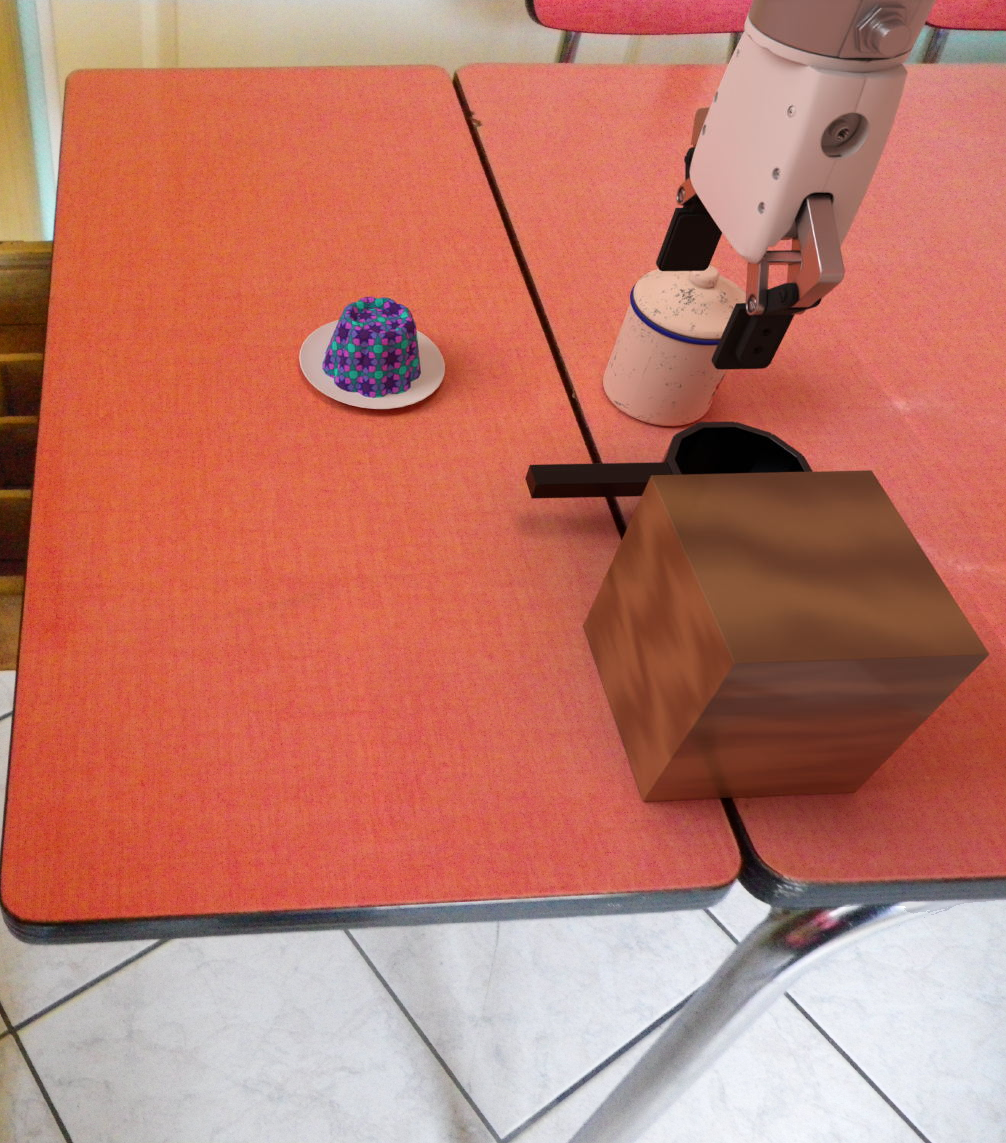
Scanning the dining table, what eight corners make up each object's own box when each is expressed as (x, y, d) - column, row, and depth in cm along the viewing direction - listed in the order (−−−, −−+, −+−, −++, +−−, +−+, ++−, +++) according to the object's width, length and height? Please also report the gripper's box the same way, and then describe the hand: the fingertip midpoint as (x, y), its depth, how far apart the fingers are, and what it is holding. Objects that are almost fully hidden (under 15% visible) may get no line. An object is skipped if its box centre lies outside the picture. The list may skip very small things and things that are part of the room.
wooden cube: (855, 792, 62) (990, 654, 52) (642, 801, 61) (734, 663, 51) (770, 619, 71) (871, 469, 60) (582, 625, 70) (650, 475, 59)
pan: (756, 469, 80) (783, 420, 76) (808, 569, 74) (841, 520, 70) (501, 474, 79) (516, 424, 75) (532, 575, 72) (550, 526, 69)
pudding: (407, 314, 92) (417, 262, 88) (468, 400, 84) (481, 347, 80) (278, 337, 89) (282, 284, 85) (329, 428, 82) (335, 375, 78)
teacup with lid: (729, 428, 83) (792, 305, 74) (618, 432, 82) (668, 308, 73) (676, 335, 91) (727, 213, 82) (574, 338, 90) (615, 215, 81)
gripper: (1015, 89, 44) (831, 408, 56) (836, -58, 55) (717, 235, 68) (841, 89, 43) (696, 411, 56) (697, -59, 55) (604, 236, 67)
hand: (708, 314), depth 62 cm, fingers open, 9 cm apart
